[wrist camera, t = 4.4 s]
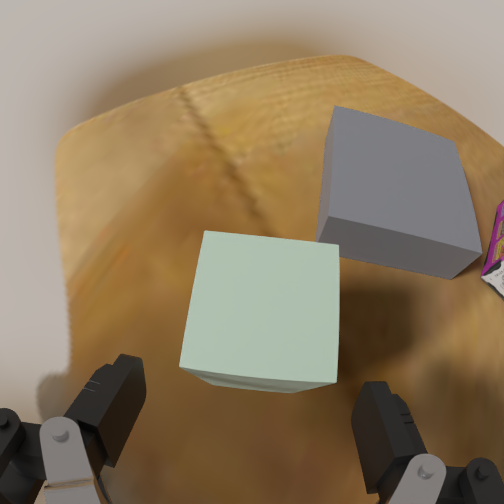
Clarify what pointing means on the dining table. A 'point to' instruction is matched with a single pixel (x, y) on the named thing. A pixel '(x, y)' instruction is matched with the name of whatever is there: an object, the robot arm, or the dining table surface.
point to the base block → (395, 197)
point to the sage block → (263, 313)
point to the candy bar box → (496, 255)
